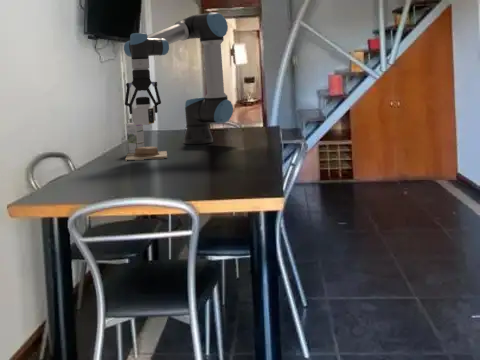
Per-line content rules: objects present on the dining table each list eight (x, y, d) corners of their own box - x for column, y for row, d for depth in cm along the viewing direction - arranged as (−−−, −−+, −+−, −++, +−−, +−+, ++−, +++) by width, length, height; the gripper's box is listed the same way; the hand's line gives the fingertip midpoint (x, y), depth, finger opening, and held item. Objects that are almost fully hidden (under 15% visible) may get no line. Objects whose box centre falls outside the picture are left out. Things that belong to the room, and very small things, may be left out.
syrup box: (145, 152, 291) (143, 122, 288) (137, 154, 286) (135, 123, 283) (135, 152, 294) (133, 122, 291) (128, 154, 289) (125, 123, 286)
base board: (127, 155, 285) (127, 146, 284) (166, 153, 287) (166, 144, 286) (125, 161, 267) (124, 151, 266) (167, 158, 269) (166, 149, 268)
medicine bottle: (149, 124, 270) (147, 97, 268) (133, 124, 271) (132, 97, 269) (154, 123, 277) (152, 96, 275) (139, 123, 278) (137, 96, 276)
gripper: (115, 70, 265) (119, 122, 269) (165, 68, 267) (168, 120, 271) (116, 70, 272) (120, 121, 276) (165, 68, 275) (168, 119, 279)
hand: (144, 120), depth 274 cm, fingers closed on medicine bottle, 8 cm apart
